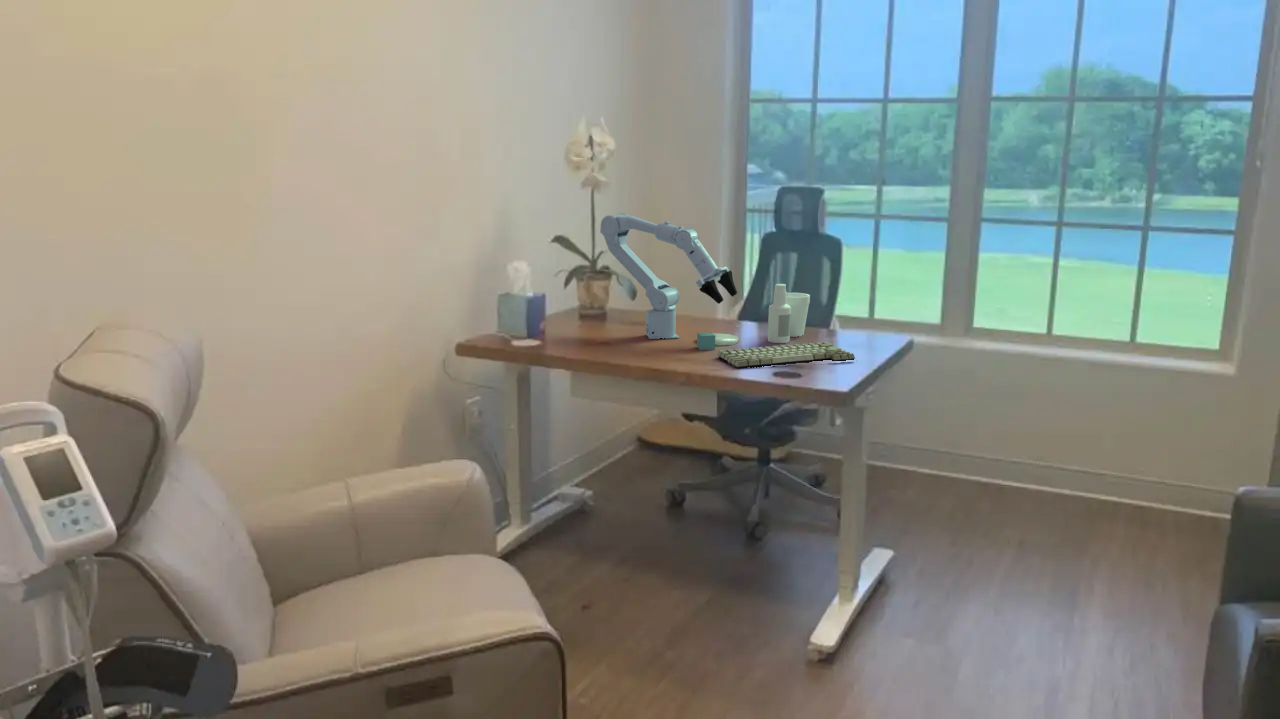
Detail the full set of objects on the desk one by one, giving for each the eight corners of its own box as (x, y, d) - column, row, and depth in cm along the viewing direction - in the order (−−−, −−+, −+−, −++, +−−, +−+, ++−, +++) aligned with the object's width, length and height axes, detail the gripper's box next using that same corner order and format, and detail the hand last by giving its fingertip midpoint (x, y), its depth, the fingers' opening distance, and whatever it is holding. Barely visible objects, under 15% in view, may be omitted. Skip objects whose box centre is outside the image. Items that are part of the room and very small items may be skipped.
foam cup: (809, 337, 324) (811, 297, 321) (780, 337, 324) (782, 297, 321) (805, 331, 333) (807, 292, 330) (777, 331, 334) (779, 292, 331)
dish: (702, 346, 311) (702, 342, 311) (692, 337, 323) (692, 334, 323) (743, 344, 313) (743, 341, 313) (732, 336, 326) (732, 332, 325)
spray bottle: (788, 344, 315) (791, 286, 311) (766, 343, 316) (768, 285, 312) (790, 339, 321) (792, 283, 317) (768, 338, 323) (770, 282, 319)
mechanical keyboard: (740, 374, 280) (740, 362, 279) (713, 359, 298) (713, 348, 297) (859, 364, 292) (860, 352, 291) (826, 351, 310) (827, 340, 309)
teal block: (700, 350, 306) (700, 335, 305) (697, 347, 310) (697, 332, 309) (715, 349, 307) (715, 335, 306) (711, 346, 311) (711, 332, 310)
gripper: (697, 261, 306) (722, 298, 304) (724, 249, 316) (749, 285, 315) (683, 274, 311) (708, 310, 309) (710, 261, 321) (735, 296, 320)
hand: (728, 298), depth 312 cm, fingers open, 7 cm apart
